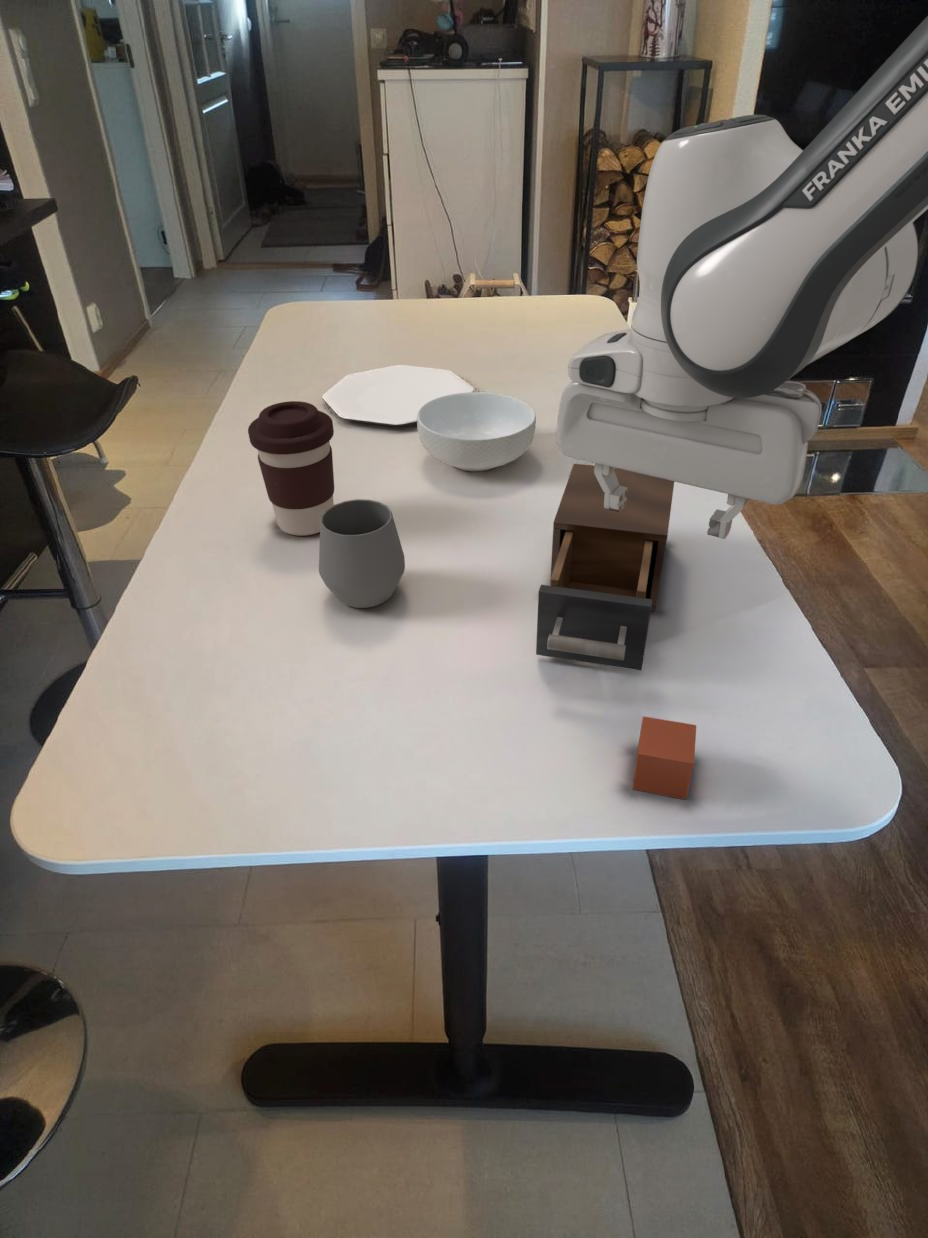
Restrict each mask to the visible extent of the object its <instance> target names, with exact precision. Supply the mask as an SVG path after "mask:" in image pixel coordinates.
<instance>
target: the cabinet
mask: <svg viewBox="0 0 928 1238" xmlns="http://www.w3.org/2000/svg"><path fill="white" fill-rule="evenodd" d="M594 465H595V464H594ZM594 465H593V464H585V463H583V464H582V463H573V465H572V468H571V471H570V474H569V475H568V478H567V482H566V484H565V488H564V491H563V494H562V497H561V499H560V502H559V504H558V508H557V511H556V514H555V517H554V520H553V525H552V541H551V542H552V543H551V544H552V545H551V563H550V578H551V577H552V573H553V570H554V567H555V564H556V561H557V558H558V555H559V551H560V548H561V545H562V542H563V539H564V536H565V532H566V530H571V531H579V532H588V533H597V534H605V535H614V536H622V537H631V538H639V539H648V540H653V547H652V554H651V561H650V568H649V575H648V582H647V589H646V596H645V598H646V599H652V605H651V611H654V612H656V611H657V607H658V606H657V605H658V599H659V593H660V585H661V580H662V573H663V566H664V561H665V555H666V548H667V547H666V546H667V541H668V534H669V529H670V528H669V527H670V520H671V519H670V518H671V510H672V504H673V497H674V496H673V495H674V488H675V482H674V481H670V480H666V479H661V478H657V477H653V476H648V475H644V474H640V473H635V472H631V471H627V470H623V469H618V468H615V469H614V472H615V474H616V477H617V479H618V482H619V484H620V486H623V487H627V488H628V493H627V495H626V498H627V502H626V505H625V507H624V508H622V510H621V511H620V512H618V511H614V510H610V509H606V508H604V497H605V492H603V490H602V488H601V486H600V484H599V482H598V480H597V478H596V476H595V474H594ZM550 582H551V579H550V580H549V583H550Z"/></svg>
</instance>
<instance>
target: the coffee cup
mask: <svg viewBox="0 0 928 1238" xmlns="http://www.w3.org/2000/svg"><path fill="white" fill-rule="evenodd" d="M258 414H259V415H258V417H257V418H255V419H254V420H253V421H252V422H251V423H250V424H249V425H248V428H247V434H248V439H249V443H250V445H251V447H253V448H254V449H256V450H257V461H258V464H259V468H260V471H261V476H262V479H263V482H264V486H265V489H266V493H267V497H268V499H269V502H270V503H271V505H272V509H273V512H274V513H273V514H274V516H275V519H276V524H277V526H278V527H279V529H280V531H282V532H284V533H286V534H288V535H291V536H312V535H315V534H318V533H319V534H320V522H321V516H322V514H323V513H324V512H325V511H326V510H327V509H328V508H330V507H332V506H333V505H335V503H334V494H335V476H334V475H335V474H334V461H333V448H332V446H331V443H330V441H331V440H332V439H333V437H334V434H335V433H334V432H335V430H334V429H335V428H334V423H333V419H332V418H331V416H330V415H328V413H326V412H324V411H320V410H319V409H318V408H317V407H316V406H315V405H314V404H312V403H309V402H306V401H300V400H297V401H295V400H289V401H282V402H278V403H274V404H271V405H268V406H266V407H265V408H264V409H262V410H261V411H260V413H258Z"/></svg>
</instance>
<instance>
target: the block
mask: <svg viewBox="0 0 928 1238" xmlns="http://www.w3.org/2000/svg"><path fill="white" fill-rule="evenodd" d="M696 739H697V725H696V724H692V723H686V722H681V721H674V720H668V719H662V718H655V717H650V716H642V719H641V728H640V732H639V738H638V745H637V751H636V758H635V759H636V760H635V766H634V774H633V781H632V790H633V791H638V792H644V793H649V794H655V795H661V796H667V797H671V798H677V799H682V800H687V797H688V793H689V788H690V784H691V780H692V775H693V772H694V771H693V770H694V767H695V757H696V756H695V755H696Z"/></svg>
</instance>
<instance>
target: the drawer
mask: <svg viewBox="0 0 928 1238" xmlns="http://www.w3.org/2000/svg"><path fill="white" fill-rule="evenodd" d="M652 547H653V540H648V539H639V538H631V537H622V536H614V535H605V534H597V533H588V532H579V531H571V530H566V532H565V536H564V539H563V542H562V545H561V548H560V551H559V555H558V558H557V561H556V564H555V567H554V570H553V573H552V577H551V576H550V580H551V582H550V581H549V583H550V584H548V585H547V584H540V586H539V589H538V594H537V595H538V596H537V597H538V599H537V621H536V643H535V645H536V646H535V655H536V656H544V657H549V658H555V659H556V658H557V659H562V660H567V661H568V660H570V661H575V662H582V663H589V664H594V665H602V666H606V667H607V666H608V667H613V668H622V669H628V670H635V671H643V666H644V665H643V664H644V659H645V651H646V644H647V637H648V631H649V624H650V618H651V612H652V610H651V605H652V599H646V598H645V596H646V589H647V582H648V575H649V568H650V561H651V554H652Z"/></svg>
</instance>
